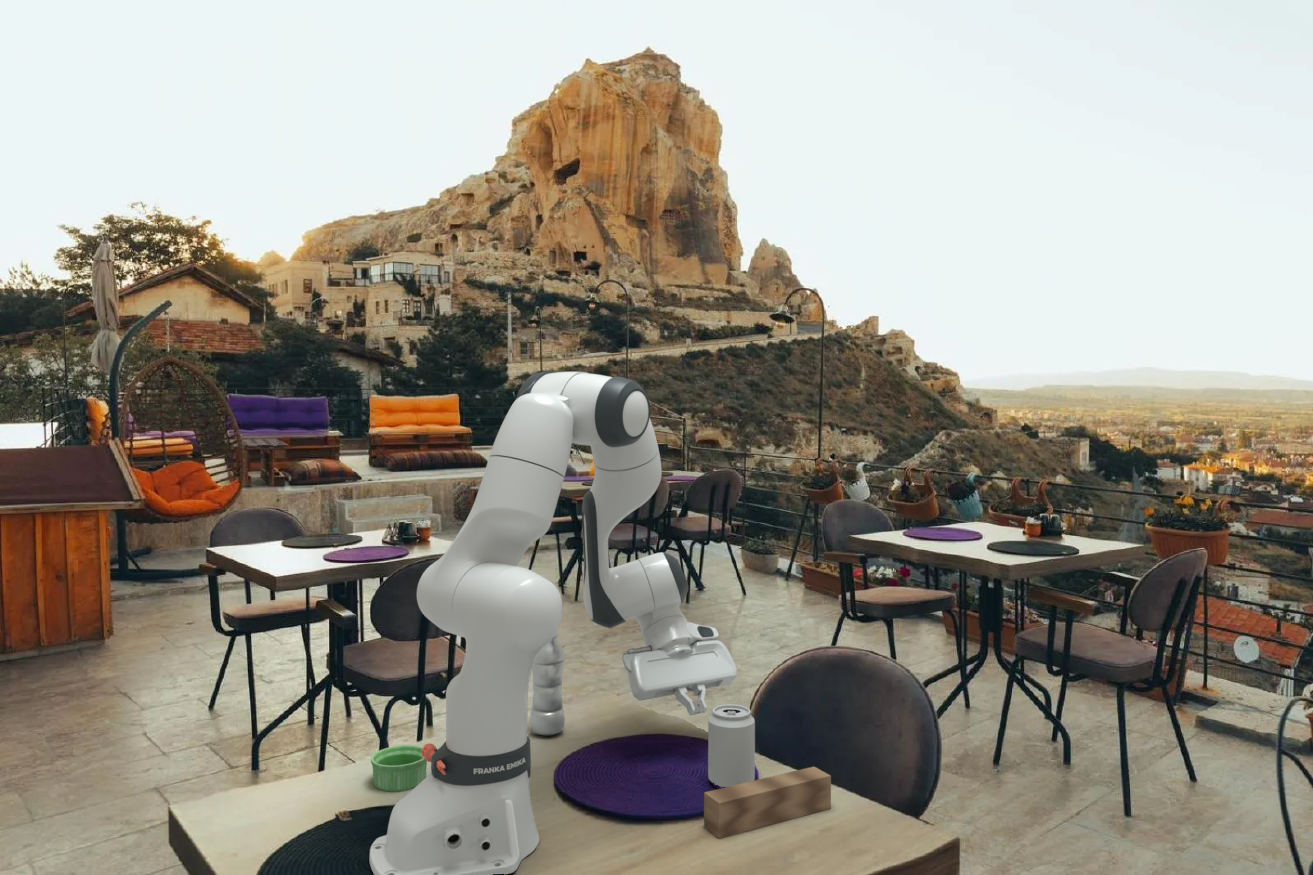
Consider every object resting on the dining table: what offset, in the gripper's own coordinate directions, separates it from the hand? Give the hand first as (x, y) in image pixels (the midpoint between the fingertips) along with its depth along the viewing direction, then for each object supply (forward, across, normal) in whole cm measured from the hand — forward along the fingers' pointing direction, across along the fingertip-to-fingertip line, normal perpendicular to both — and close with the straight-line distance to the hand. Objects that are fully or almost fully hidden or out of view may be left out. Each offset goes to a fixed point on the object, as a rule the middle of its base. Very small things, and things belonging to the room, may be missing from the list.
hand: (698, 712), depth 149 cm
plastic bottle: (-12, -18, +24) cm, 32 cm away
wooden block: (+22, -2, -10) cm, 25 cm away
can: (+13, 0, -1) cm, 13 cm away
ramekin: (-5, -47, +17) cm, 50 cm away
